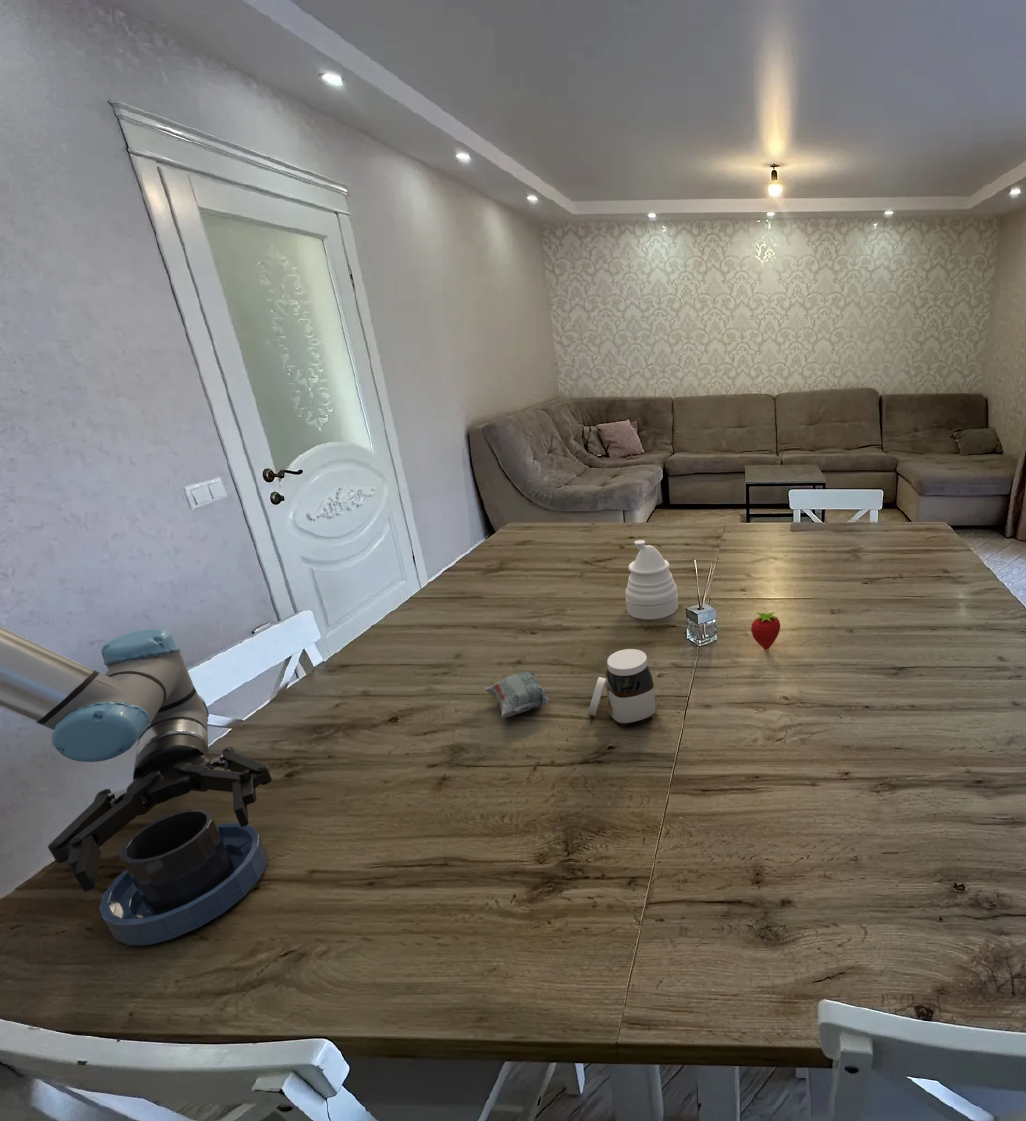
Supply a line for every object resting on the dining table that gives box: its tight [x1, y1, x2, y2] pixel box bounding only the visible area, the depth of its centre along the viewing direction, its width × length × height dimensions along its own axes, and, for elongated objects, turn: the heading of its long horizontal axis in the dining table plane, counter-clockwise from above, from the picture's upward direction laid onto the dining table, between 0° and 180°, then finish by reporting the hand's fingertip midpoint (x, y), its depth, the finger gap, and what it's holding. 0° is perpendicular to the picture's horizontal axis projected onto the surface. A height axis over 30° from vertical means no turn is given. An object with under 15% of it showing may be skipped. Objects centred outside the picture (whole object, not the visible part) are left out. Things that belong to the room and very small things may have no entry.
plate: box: [99, 822, 268, 946], centre depth 72 cm, size 14×14×4 cm
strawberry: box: [750, 608, 782, 651], centre depth 126 cm, size 6×8×10 cm
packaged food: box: [485, 670, 550, 720], centre depth 108 cm, size 9×12×5 cm
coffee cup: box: [119, 808, 235, 916], centre depth 71 cm, size 8×8×9 cm
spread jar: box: [587, 648, 656, 727], centre depth 104 cm, size 12×11×12 cm
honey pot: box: [624, 539, 679, 620], centre depth 144 cm, size 13×13×18 cm
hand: (167, 847), depth 69 cm, fingers open, 13 cm apart
